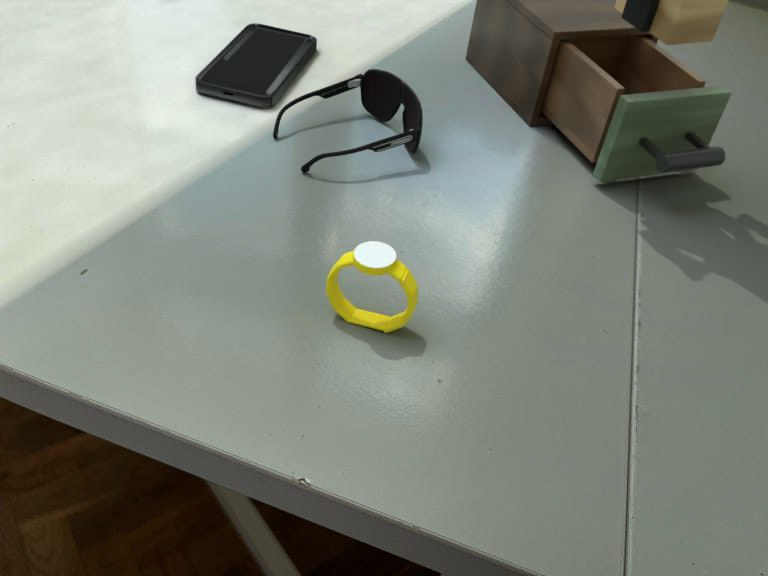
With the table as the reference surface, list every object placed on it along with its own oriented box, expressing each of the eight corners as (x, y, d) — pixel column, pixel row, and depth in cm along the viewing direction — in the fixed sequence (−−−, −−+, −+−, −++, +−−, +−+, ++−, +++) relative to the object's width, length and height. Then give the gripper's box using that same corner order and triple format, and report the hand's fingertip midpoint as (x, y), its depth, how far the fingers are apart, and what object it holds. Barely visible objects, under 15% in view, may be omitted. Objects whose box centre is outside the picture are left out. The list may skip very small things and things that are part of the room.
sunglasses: (435, 159, 70) (438, 110, 66) (315, 201, 65) (311, 152, 62) (376, 103, 76) (376, 56, 72) (263, 138, 72) (257, 90, 68)
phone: (319, 37, 83) (270, 99, 72) (319, 47, 84) (270, 110, 73) (249, 21, 84) (190, 80, 73) (249, 31, 85) (190, 91, 73)
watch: (415, 321, 54) (429, 254, 50) (404, 348, 52) (417, 280, 48) (333, 296, 55) (340, 229, 51) (319, 322, 53) (325, 253, 49)
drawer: (728, 195, 69) (767, 117, 64) (627, 210, 66) (660, 129, 60) (616, 97, 81) (641, 25, 76) (525, 106, 78) (545, 30, 72)
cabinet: (630, 116, 81) (663, 26, 74) (529, 126, 76) (554, 32, 70) (558, 52, 90) (581, -32, 84) (465, 58, 86) (482, -30, 80)
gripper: (852, -346, 52) (717, -2, 68) (638, -378, 46) (543, 9, 62) (948, -333, 47) (779, 35, 63) (723, -367, 41) (596, 51, 57)
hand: (662, 21), depth 62 cm, fingers closed on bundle, 5 cm apart
